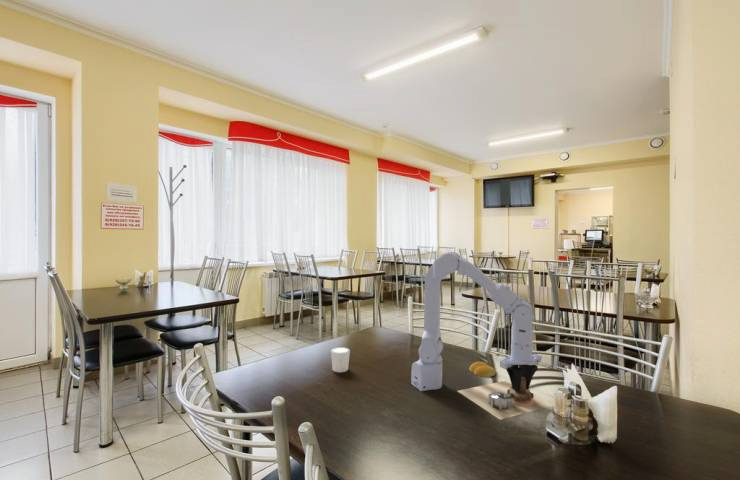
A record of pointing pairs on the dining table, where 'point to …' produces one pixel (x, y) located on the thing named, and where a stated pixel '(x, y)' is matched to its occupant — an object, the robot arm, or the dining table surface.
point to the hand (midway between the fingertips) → (520, 389)
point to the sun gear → (500, 400)
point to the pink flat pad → (523, 402)
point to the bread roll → (482, 369)
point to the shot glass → (340, 359)
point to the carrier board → (482, 392)
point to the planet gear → (521, 392)
